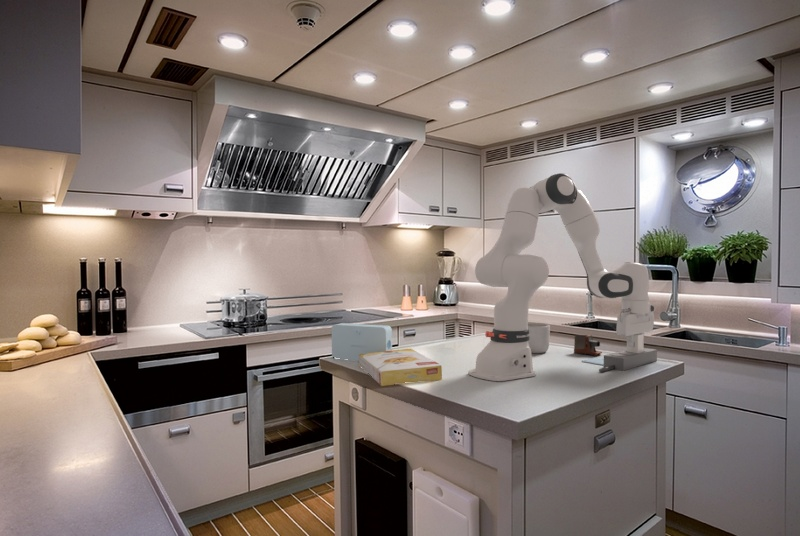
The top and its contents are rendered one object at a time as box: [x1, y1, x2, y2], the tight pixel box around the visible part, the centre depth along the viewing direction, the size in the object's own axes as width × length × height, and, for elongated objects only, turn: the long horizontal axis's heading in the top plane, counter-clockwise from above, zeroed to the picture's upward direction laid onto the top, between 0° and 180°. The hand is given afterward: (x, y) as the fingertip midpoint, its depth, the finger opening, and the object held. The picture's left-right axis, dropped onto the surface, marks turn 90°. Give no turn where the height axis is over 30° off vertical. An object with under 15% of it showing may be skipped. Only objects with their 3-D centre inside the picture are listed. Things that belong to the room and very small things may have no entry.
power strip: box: [598, 347, 658, 373], centre depth 169 cm, size 33×7×4 cm, turn 128°
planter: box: [528, 322, 551, 354], centre depth 195 cm, size 12×12×11 cm
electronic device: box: [573, 334, 603, 357], centre depth 189 cm, size 4×10×8 cm, turn 44°
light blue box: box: [331, 322, 393, 362], centre depth 182 cm, size 23×6×13 cm, turn 65°
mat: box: [581, 357, 604, 366], centre depth 175 cm, size 8×8×1 cm
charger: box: [626, 333, 645, 353], centre depth 173 cm, size 4×4×7 cm
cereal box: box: [358, 348, 443, 387], centre depth 161 cm, size 20×6×28 cm
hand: (635, 346), depth 173 cm, fingers closed on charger, 4 cm apart
